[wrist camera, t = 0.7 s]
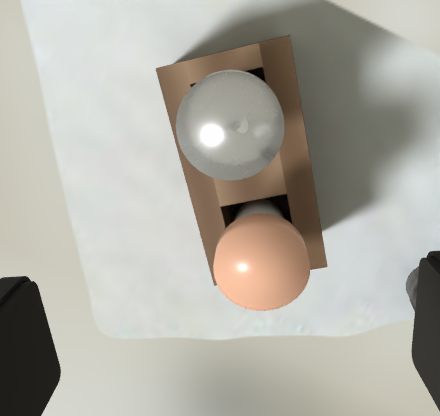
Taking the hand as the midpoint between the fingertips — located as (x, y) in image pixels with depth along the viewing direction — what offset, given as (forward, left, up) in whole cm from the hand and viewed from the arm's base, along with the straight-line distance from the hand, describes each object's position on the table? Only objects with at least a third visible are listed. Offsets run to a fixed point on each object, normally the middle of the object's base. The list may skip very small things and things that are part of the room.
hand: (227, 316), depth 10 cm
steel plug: (0, -2, -22) cm, 22 cm away
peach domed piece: (0, +7, -22) cm, 23 cm away
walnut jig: (0, +2, -27) cm, 27 cm away
